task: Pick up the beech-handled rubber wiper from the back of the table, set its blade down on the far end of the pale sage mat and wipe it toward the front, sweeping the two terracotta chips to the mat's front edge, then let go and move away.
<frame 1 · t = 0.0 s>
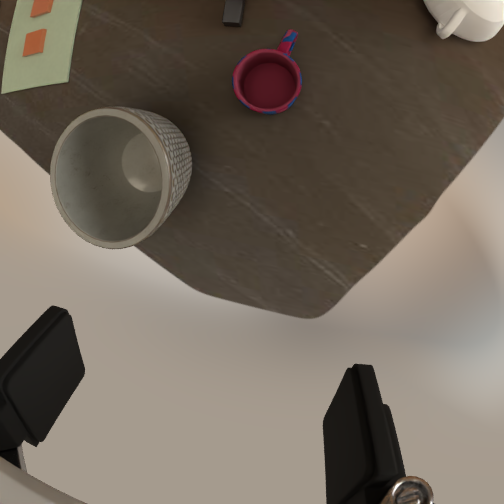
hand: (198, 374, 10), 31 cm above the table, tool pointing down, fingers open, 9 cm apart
planter: (154, 160, 38), on the table
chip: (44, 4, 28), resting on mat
mat: (40, 29, 30), on the table
cup: (276, 76, 33), on the table
teapot: (453, 3, 25), on the table
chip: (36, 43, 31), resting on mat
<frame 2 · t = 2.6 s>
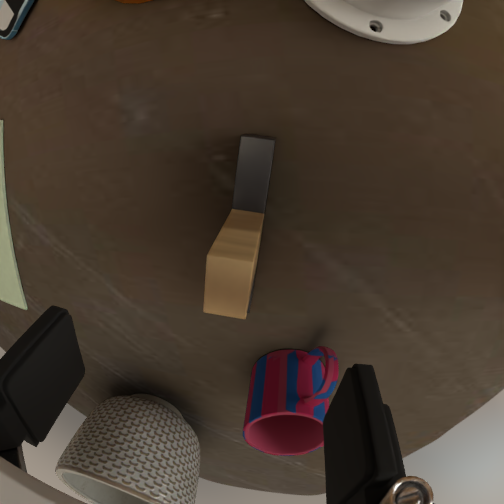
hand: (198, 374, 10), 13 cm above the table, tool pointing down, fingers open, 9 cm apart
planter: (155, 410, 32), on the table
cup: (299, 363, 26), on the table
wiper: (248, 224, 21), on the table
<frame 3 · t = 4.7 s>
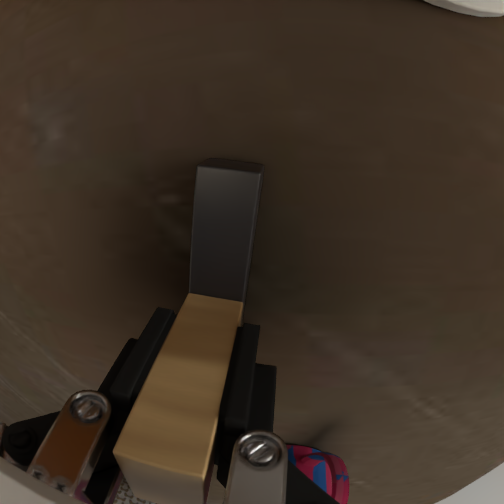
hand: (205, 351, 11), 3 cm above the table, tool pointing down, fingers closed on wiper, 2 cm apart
planter: (129, 477, 24), on the table
cup: (297, 454, 18), on the table
wiper: (221, 304, 13), on the table, touching gripper
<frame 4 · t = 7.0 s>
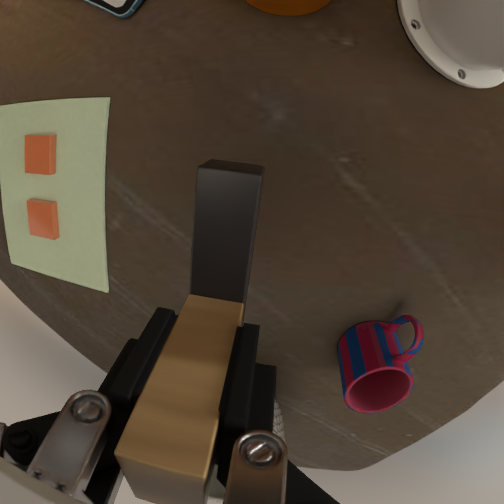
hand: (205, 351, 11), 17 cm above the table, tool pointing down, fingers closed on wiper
planter: (232, 388, 36), on the table
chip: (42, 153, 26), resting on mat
mat: (46, 193, 28), on the table
cup: (377, 333, 31), on the table
wiper: (221, 305, 13), point 14 cm above the table, touching gripper
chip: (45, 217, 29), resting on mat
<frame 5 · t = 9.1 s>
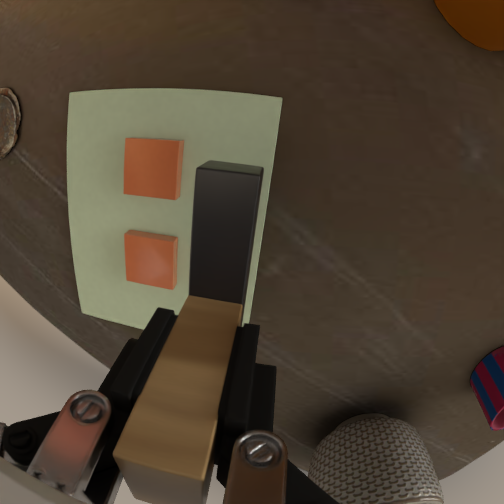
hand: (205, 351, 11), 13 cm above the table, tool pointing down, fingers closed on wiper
planter: (362, 428, 31), on the table
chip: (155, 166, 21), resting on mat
mat: (155, 224, 23), on the table
decorative disc: (3, 123, 20), on the table
cup: (502, 357, 25), on the table
wiper: (221, 305, 13), point 10 cm above the table, touching gripper
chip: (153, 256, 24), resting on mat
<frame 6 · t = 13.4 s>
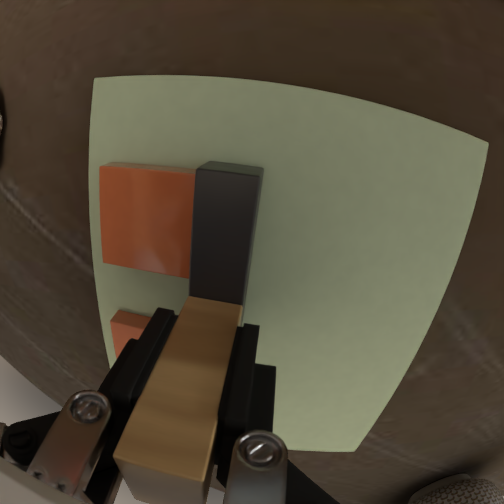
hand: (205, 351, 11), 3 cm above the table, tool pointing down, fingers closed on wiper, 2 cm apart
planter: (438, 486, 22), on the table
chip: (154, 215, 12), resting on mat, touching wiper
mat: (261, 324, 14), on the table
wiper: (221, 306, 13), resting on mat, touching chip, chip, gripper
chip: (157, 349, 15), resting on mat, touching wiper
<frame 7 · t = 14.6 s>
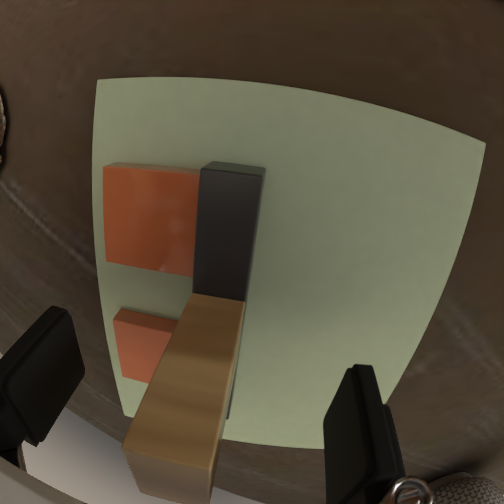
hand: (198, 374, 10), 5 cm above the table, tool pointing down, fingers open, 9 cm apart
planter: (438, 485, 22), on the table
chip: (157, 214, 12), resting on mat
mat: (262, 322, 14), on the table
wiper: (223, 303, 14), resting on mat
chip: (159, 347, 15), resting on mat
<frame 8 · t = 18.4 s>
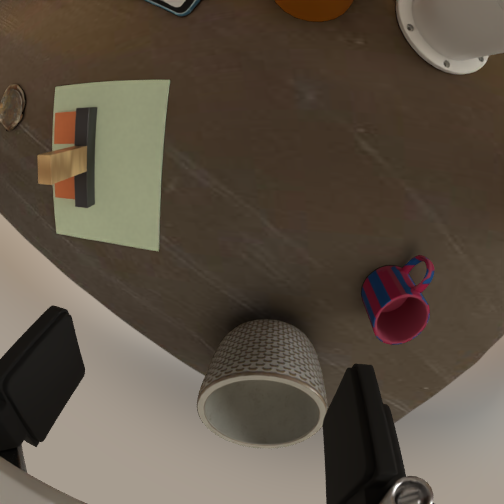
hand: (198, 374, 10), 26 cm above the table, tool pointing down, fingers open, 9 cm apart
planter: (268, 340, 42), on the table
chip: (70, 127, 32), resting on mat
mat: (102, 163, 34), on the table
decorative disc: (13, 107, 31), on the table
cup: (394, 278, 36), on the table
wiper: (88, 156, 33), resting on mat
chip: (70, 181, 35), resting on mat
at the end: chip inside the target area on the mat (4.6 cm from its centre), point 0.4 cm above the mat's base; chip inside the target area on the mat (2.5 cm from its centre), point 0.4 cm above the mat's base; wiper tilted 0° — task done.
